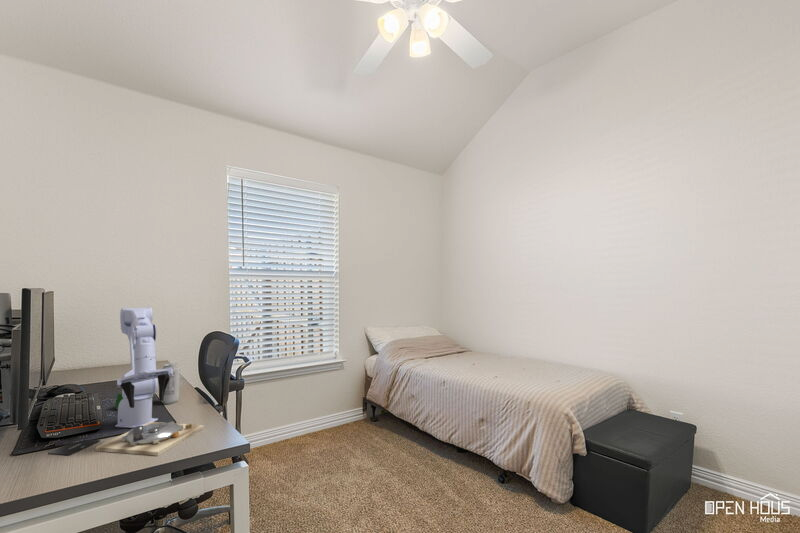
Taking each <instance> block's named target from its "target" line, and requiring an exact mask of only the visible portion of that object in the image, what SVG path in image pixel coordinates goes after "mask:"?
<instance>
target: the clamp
mask: <svg viewBox="0 0 800 533" xmlns="http://www.w3.org/2000/svg"><path fill="white" fill-rule="evenodd" d="M155 396H156V394H153V397H152V399H155ZM122 399H123V397H122V393H117V396H116V400H115V406H114V407H115V409H116V410H117V411H118V406H119V403H120V401H121V400H122Z"/></svg>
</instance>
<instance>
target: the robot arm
mask: <svg viewBox="0 0 800 533" xmlns="http://www.w3.org/2000/svg"><path fill="white" fill-rule="evenodd" d="M153 314H154V313H153V308H152V307H151V306H148V307H146V306H145V307H126V308H125V307H122V308H121V309H120V314H119V315H120V316H119V319H120V320H119V321H120V330H121V333H122V334H124V335H126V336H127V337H128V340H129V352H130V353H129V354H130V366H131V367H130V368H131V369H130V370H129V371H127V373H125V374H123V377H121V378H118V379H117V380H116V386H117V387H119V388H121V394H122V397H123V399H122V400H121V401H120V403H119V406H118V410H117V424H116V425H115V427H116V428H127V429H128V428H131V429H133V428H134V427H136V426H141V425H144V424H146V423H148V422H158V421H159V418H155V417H153V416H152V415H153V398H152V397H153V394H155V395H156V393H158V399H159V401H160V402H162V401H163V399H164V393H165V390H166V387H167V385H168V382H169V380H170V378H169V376H171V375H173V369H172V368H167V369H163V368H161V369H157V358H156V339H157V327H156V324H155V323H152V322H153Z"/></svg>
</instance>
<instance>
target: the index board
mask: <svg viewBox="0 0 800 533" xmlns="http://www.w3.org/2000/svg"><path fill="white" fill-rule="evenodd" d="M150 423H154V424H156V423H164V422H163V421H155V422H148V423H146V424H144V425H141V426H146V425H149V424H150ZM174 423H175V422H174ZM175 424H178V425H183V429H182V430H180V431H179V435H178V436H177V437H171V438H169V439H166V440H163V441H159V443H156V444H153V443H149V444H137V445H135V446H132V445H130V443H128V442H127V441H123V442H122V437H123V436H126V435H127V434H128V433H129V431H127V432H124V433H123V434H121V435H118V436H117V437H114V438H112V439H109V440H108V441H106V442H104V443H101V444H99V445H97V446H95V451H97V452H106V453H107V452H108V453H109V452H110V453H121V454H132V455H145V456H146V455H147V456H156V457H158V456H160V455H162V454H164V453H165V452H167V451H168V450H170V449H172V448H174V447H175V446H177V445H178V444H180V443H182V442H184V441H186V440H187V439H188V437H189V438H190V437H191V435H192V436H194V435H195V434H197V433H198V431H199V432H201V431H202V430H204V429H205V425H203V424H193V423H175ZM203 428H204V429H203ZM201 429H202V430H201ZM193 434H194V435H193ZM183 440H184V441H183Z"/></svg>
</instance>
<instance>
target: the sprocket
mask: <svg viewBox="0 0 800 533" xmlns="http://www.w3.org/2000/svg"><path fill="white" fill-rule="evenodd" d="M178 424H179V423H178ZM178 424H175V421H169V422H163V423H156V424H154V423H150V424H149V425H146V426H136V427H134V428H131V429H128V432H129V433H128V434H127V435H126V436H123V437H122V442H123V441H127V442H128V443H130V445H132V446H135V445H137V444H149V443H153V444H156V443H159V441H163V440H166V439H169V438H171V437H177V436H178V435H179V431H180V430H182V429H183V425H178Z"/></svg>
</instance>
